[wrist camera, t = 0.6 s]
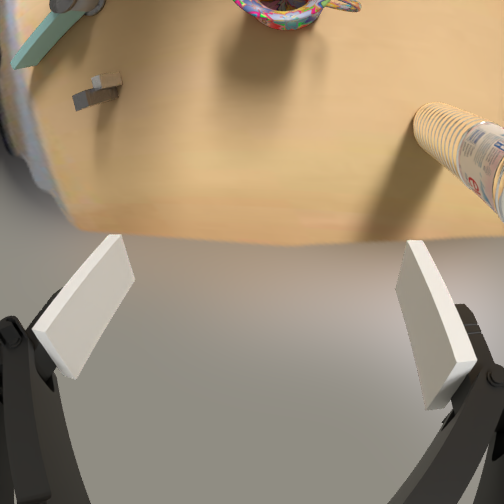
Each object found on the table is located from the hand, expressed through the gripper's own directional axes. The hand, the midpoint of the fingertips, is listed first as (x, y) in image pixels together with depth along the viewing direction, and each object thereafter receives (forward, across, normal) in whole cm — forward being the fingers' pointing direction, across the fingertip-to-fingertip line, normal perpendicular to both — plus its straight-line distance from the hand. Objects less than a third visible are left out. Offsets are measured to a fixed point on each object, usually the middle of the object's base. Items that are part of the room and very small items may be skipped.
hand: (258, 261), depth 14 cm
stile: (+26, -22, +7) cm, 35 cm away
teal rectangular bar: (+26, -29, +19) cm, 43 cm away
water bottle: (+27, +19, +2) cm, 33 cm away
